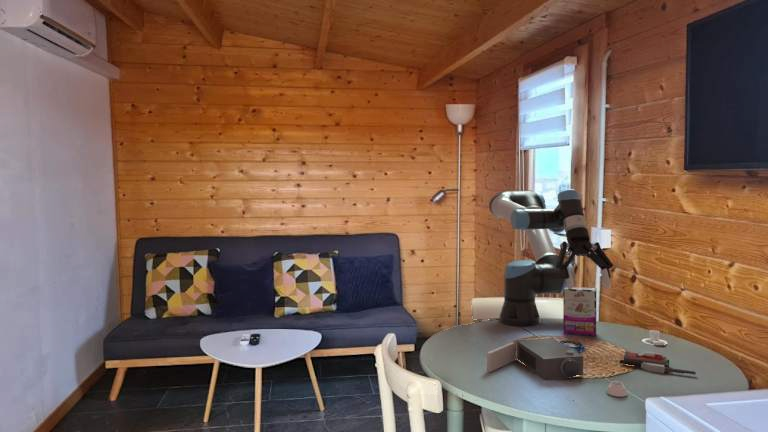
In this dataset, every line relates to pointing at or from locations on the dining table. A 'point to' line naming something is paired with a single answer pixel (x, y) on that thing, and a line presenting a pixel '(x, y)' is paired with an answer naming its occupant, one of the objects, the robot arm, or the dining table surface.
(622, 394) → the pink dome
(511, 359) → the side door
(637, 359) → the walkie-talkie
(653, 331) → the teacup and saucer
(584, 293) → the candy bar box
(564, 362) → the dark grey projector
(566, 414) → the dining table surface
